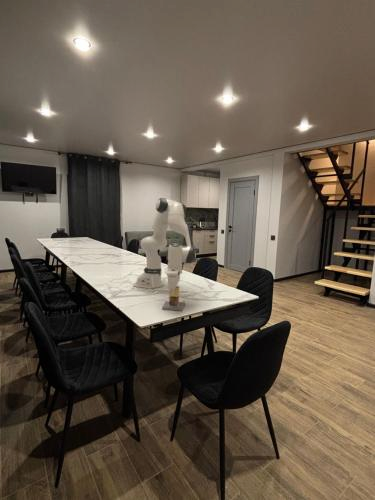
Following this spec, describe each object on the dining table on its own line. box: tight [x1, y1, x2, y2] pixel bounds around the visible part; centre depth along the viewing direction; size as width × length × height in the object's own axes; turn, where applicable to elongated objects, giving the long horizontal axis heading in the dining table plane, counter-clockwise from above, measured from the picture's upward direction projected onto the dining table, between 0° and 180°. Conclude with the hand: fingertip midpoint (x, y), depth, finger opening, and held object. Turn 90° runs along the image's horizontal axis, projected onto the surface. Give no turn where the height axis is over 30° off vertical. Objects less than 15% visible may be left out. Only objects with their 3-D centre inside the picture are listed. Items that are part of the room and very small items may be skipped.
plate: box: [161, 300, 186, 312], centre depth 162 cm, size 12×12×1 cm
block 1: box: [169, 285, 180, 297], centre depth 161 cm, size 5×5×5 cm
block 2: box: [168, 295, 180, 306], centre depth 162 cm, size 5×5×5 cm
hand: (174, 292), depth 161 cm, fingers closed on block 1, 5 cm apart
